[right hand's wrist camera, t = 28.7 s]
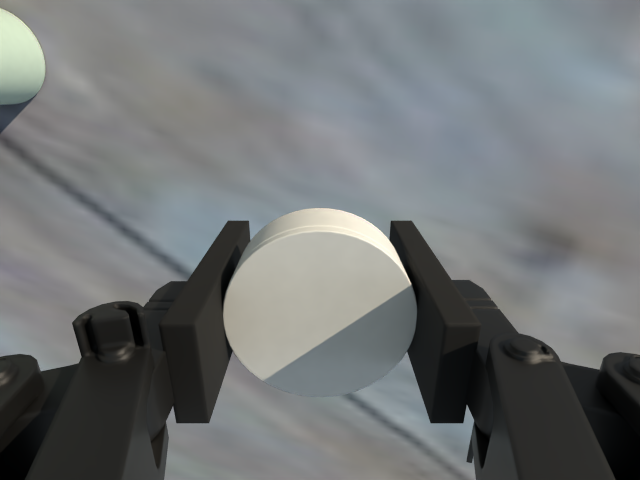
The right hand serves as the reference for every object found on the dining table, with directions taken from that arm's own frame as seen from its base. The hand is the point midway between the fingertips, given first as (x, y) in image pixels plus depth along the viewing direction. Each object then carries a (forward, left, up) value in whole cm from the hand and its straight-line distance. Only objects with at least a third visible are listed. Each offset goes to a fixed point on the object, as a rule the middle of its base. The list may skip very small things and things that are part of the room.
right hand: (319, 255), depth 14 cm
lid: (0, 0, +4) cm, 4 cm away
